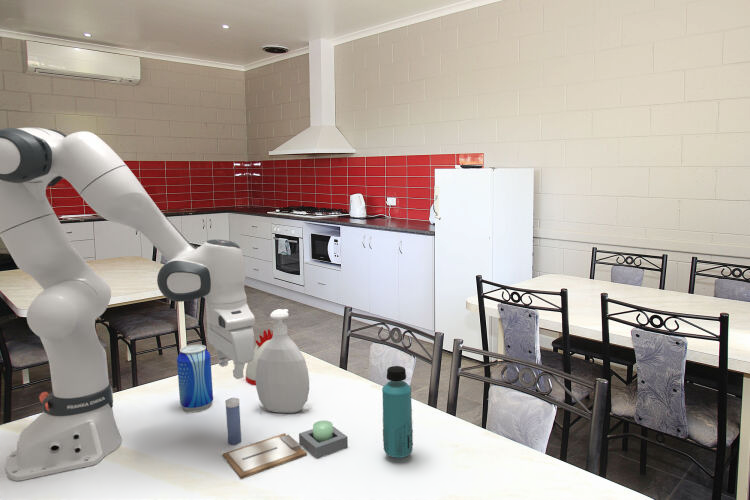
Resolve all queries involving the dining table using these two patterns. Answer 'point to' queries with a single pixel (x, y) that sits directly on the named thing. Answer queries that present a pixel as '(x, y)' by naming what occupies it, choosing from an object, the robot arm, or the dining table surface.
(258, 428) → the dining table surface
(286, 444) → the clipboard
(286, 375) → the soap bottle
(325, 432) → the button
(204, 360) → the beer can
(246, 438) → the dining table surface
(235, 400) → the marker
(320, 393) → the dining table surface
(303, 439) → the button housing
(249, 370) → the kitchen timer
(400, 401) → the beverage bottle
